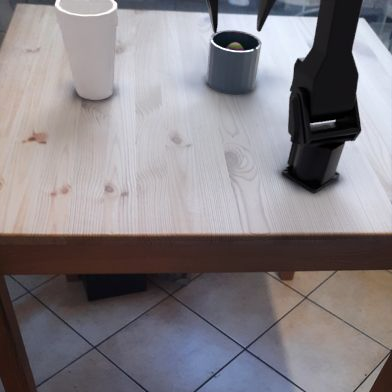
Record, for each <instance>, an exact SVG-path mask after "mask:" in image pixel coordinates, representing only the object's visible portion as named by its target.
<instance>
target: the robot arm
mask: <svg viewBox="0 0 392 392" xmlns="http://www.w3.org/2000/svg"><path fill="white" fill-rule="evenodd" d="M276 2H277V0H259V1H258V10H257V16H256V31H257V32H258V33H259V32H262V30H263V27H264V25H265V23H266V21H267V20H268V17H269V15H270V14H271V11H272V9H273V7H274V5H275V3H276ZM319 2H320V3H319V7H318V14H317V19H316V25H315V32H314V37H313V44H312V47H311V48H310V50H309V52H308V53H307V54H306V56H305V57H297V58H296V60H295V63H294V65H293V73H292V81H291V85H290V88H289V92H290V95H289V98H288V100H289V101H288V116H287V117H288V119H287V127H288V128H287V133H288V134H289V135H290V139H289V141H290V142H291V145H290V150H289V153H288V157H287V162H286V164H287V166H286V167H284V168H282V170H281V174H282V175H284V176H286V177H287V178H289V179H290V180H292V181H294V182H295V183H296V184H298V185H300V186H301V187H304V188H305V189H307V190H309V191H310V192H312V193H317V192H318V191H320V190H321V189H323V188H325V187H327V186H328V185H329V184H331V183H333V182H334V181H336V180H337V179H340V172H338V171H337V169H338V166H339V162H340V159H341V157H342V153H343V150H344V148H345V144H346V143H347V142H355V141H356V140H357V138H358V137H359V136H360V134H361V133H362V123H361V115H360V110H359V103H358V95H357V91H358V83H359V78H360V77H359V75H360V73H359V70H358V67H357V63H356V60H355V57H354V53H353V49H354V43H355V39H356V34H357V29H358V26H359V20H360V16H361V12H362V7H363V2H364V0H319ZM205 3H206V6H207V10H208V11H207V12H208V15H209V19H210V24H211V28H212V32H213V34H214V33H217V32H218V26H219V0H205Z"/></svg>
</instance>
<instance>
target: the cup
mask: <svg viewBox="0 0 392 392" xmlns="http://www.w3.org/2000/svg"><path fill="white" fill-rule="evenodd" d="M234 42H236V43H239V44H240V45H241V46H242V47H243V49H244V51H233V50H228V49H226V47H227V46H228V45H230V44H231V43H234ZM208 44H209V45H208V55H207V56H208V57H207V68H206V83H207V85H208V86H209V87H210V88H211V89H212V90H214V91H216V92H218V93H219V92H220V93H222V94H227V95H243V94H247V93H250V92H251V91H253V90H254V88H255V87H256V82H257V76H258V69H259V64H260V56H261V50H262V44H263V42H262V41H261V39H260V38H259V37H258V36H256V35H254V34H252V33H249V32H246V31H244V30H243V31H242V30H237V29H233V30H232V29H226V30H225V29H224V30H219V31H217V33H214V32H213V33H212V34H211V35H210V37H209V43H208Z"/></svg>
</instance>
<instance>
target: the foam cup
mask: <svg viewBox="0 0 392 392" xmlns="http://www.w3.org/2000/svg"><path fill="white" fill-rule="evenodd" d="M54 10H55V17H56V23H57V24H58V26H59V31H60V32H61V34H60V35H61V38H62V42H63V45H64V49H65V53H66V56H67V61H68V63H69V64H68V65H69V68H70V72H71V76H72V80H73V84H74V87H75V89H76V90H75V91H76V93H77V95H78V96H79V97H81V98H83V99H85V100H91V101H99V100H100V101H101V100H104V99H107V98H108V99H109V98H110V97H111V96H112V95H113V94H114V85H115V83H114V81H115V63H116V47H117V44H116V43H117V27H118V26H119V11H118V2H116V1H115V0H55V3H54Z"/></svg>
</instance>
